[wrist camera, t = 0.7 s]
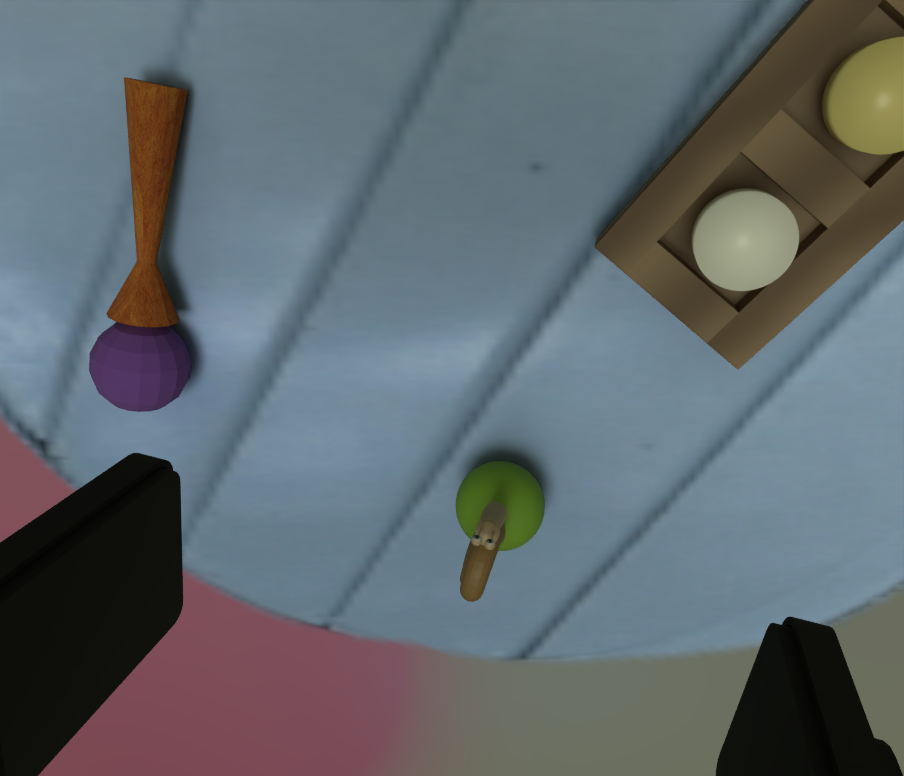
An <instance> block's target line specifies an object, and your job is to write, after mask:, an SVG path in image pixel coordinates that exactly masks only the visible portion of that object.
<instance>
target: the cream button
mask: <svg viewBox="0 0 904 776" xmlns="http://www.w3.org/2000/svg"><path fill="white" fill-rule="evenodd" d="M691 242H692V249H693V253H694V256H695V259H696V261H697V264H698V266H699V268H700V270H701V271H702V273H703V274H704V275H705V276H706V277H707V278H708V279H709V280H710V281H711V282H713V283H714V284H716V285H718V286H720V287H722V288H725V289H728V290H733V291H749V290H754V289H758V288H761V287H764V286H766V285H768V284H770V283H772V282H773V281H775V280H776V279H778V278H779V277H780V276H781V275H782V274H783V273H784V272H785V271H786V270H787V269H788V267H789V266H790V265H791V263H792V261H793V259H794V258H795V255H796V253H797V249H798V245H799V230H798V225H797V222H796V219H795V217H794V215H793V214H792V212H791V211H790V209H789V208H788V207H787V206H786V205H785V204H784V203H782V202H781V201H780V200H778V199H777V198H775V197H774V196H773V195H771V194H769V193H767V192H765V191H762V190H758V189H753V188H740V189H734V190H730V191H727V192H725V193H723V194H721V195H719V196H717V197H715V198H714V199H713V200H711V201H710V202H709V203H708V204H707V205H706V206H705V207H704V208H703V209H702V211H701V212H700V214H699V215H698V217H697V219H696V221H695V223H694V226H693V230H692V238H691Z"/></svg>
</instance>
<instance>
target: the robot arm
mask: <svg viewBox="0 0 904 776" xmlns="http://www.w3.org/2000/svg"><path fill="white" fill-rule="evenodd" d="M182 605H183V575H182V532H181V490H180V476H179V474H178V473H177V472H175V471H173V467H172V465H171V463H170V462H169V461H167V460H164V459H160V458H156V457H152V456H148V455H144V454H140V453H133V454H130V455H128V456H127V457H125V458H124V459H122V460H121V461H119V462H118V463H117V464H115V465H114V466H112V467H111V468H109V469H108V470H106V471H105V472H103V473H102V474H100V475H99V476H97V477H96V478H95V479H93V480H92V481H90V482H89V483H87V484H86V485H84V486H83V487H81V488H80V489H78V490H77V491H75V492H74V493H72V494H71V495H70V496H68V497H67V498H65V499H64V500H62V501H61V502H59V503H58V504H57V505H55V506H53V507H52V508H50V509H49V510H48V511H46V512H45V513H43V514H42V515H40V516H39V517H37V518H36V519H34V520H33V521H31V522H30V523H28V524H27V525H25V526H24V527H23V528H21V529H20V530H18V531H17V532H15V533H14V534H12V535H11V536H9V537H8V538H6V539H5V540H3V541H2V542H1V543H0V776H38V775H39V774H40V773H41V772H42V771H43V769H44V768H45V767H46V766H47V765H48V764H49V763H50V762H51V761H52V759H53V758H54V757H55V756H56V755H57V754H58V753H59V752H60V751H61V749H62V748H63V747H64V746H65V745H66V744H67V743H68V742H69V741H70V739H71V738H72V737H73V736H74V735H75V734H76V733H77V732H78V731H79V729H80V728H81V727H82V726H83V725H84V724H85V723H86V722H87V721H88V720H89V718H90V717H91V716H92V715H93V714H94V713H95V712H96V711H97V709H98V708H99V707H100V706H101V705H102V704H103V703H104V702H105V701H106V700H107V698H108V697H109V696H110V695H111V694H112V693H113V692H114V691H115V690H116V688H117V687H118V686H119V685H120V684H121V683H122V682H123V681H124V680H125V678H126V677H127V676H128V675H129V674H130V673H131V672H132V670H133V669H135V667H136V666H137V665H138V664H139V663H140V662H141V661H142V660H143V659H144V657H145V656H146V655H147V654H148V653H149V652H150V651H151V650H152V648H153V647H154V646H155V645H156V644H157V643H158V642H159V641H160V640H161V639H162V637H163V636H164V635H165V634H166V633H167V632H168V631H169V630H170V628H171V627H172V626H173V625H174V624H175V622H176V621H177V619H178V617H179V615H180V613H181V610H182ZM716 776H903V774H902V772H901V769H900V767H899V764H898V762H897V759H896V757H895V755H894V753H893V751H892V749H891V747H890V746H889V745H888V744H887V743H885V742H884V741H883V740H879V739H876V738H874V737H873V734H872V731H871V728H870V725H869V723H868V720H867V717H866V714H865V712H864V709H863V706H862V704H861V701H860V698H859V695H858V693H857V690H856V687H855V685H854V682H853V679H852V676H851V674H850V671H849V668H848V666H847V663H846V660H845V658H844V655H843V652H842V649H841V647H840V644H839V641H838V638H837V636H836V633H835V631H834V629H833V628H831V627H830V626H826V625H822V624H818V623H814V622H810V621H806V620H802V619H798V618H794V617H787V618H786V619H785V620H784V621H783V623H782V625H780V624H776V623H771V624H770V625H769V626H768V628H767V631H766V633H765V636H764V638H763V641H762V644H761V646H760V649H759V652H758V654H757V657H756V660H755V662H754V665H753V668H752V670H751V673H750V676H749V678H748V681H747V683H746V686H745V689H744V691H743V694H742V696H741V699H740V702H739V704H738V707H737V710H736V712H735V715H734V718H733V721H732V723H731V725H730V728H729V731H728V734H727V736H726V739H725V742H724V744H723V747H722V749H721V752H720V755H719V758H718V762H717V768H716Z"/></svg>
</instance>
